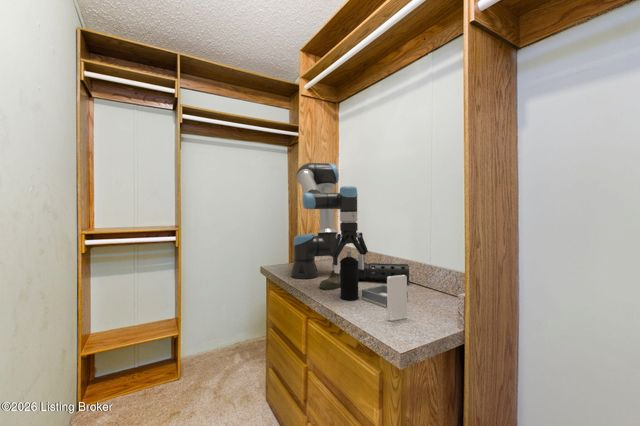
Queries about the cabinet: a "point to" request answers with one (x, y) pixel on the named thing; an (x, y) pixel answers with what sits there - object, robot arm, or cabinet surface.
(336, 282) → the hiking shoe
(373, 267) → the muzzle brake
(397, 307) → the phone case
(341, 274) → the aerosol can
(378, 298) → the holder
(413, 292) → the cabinet surface
